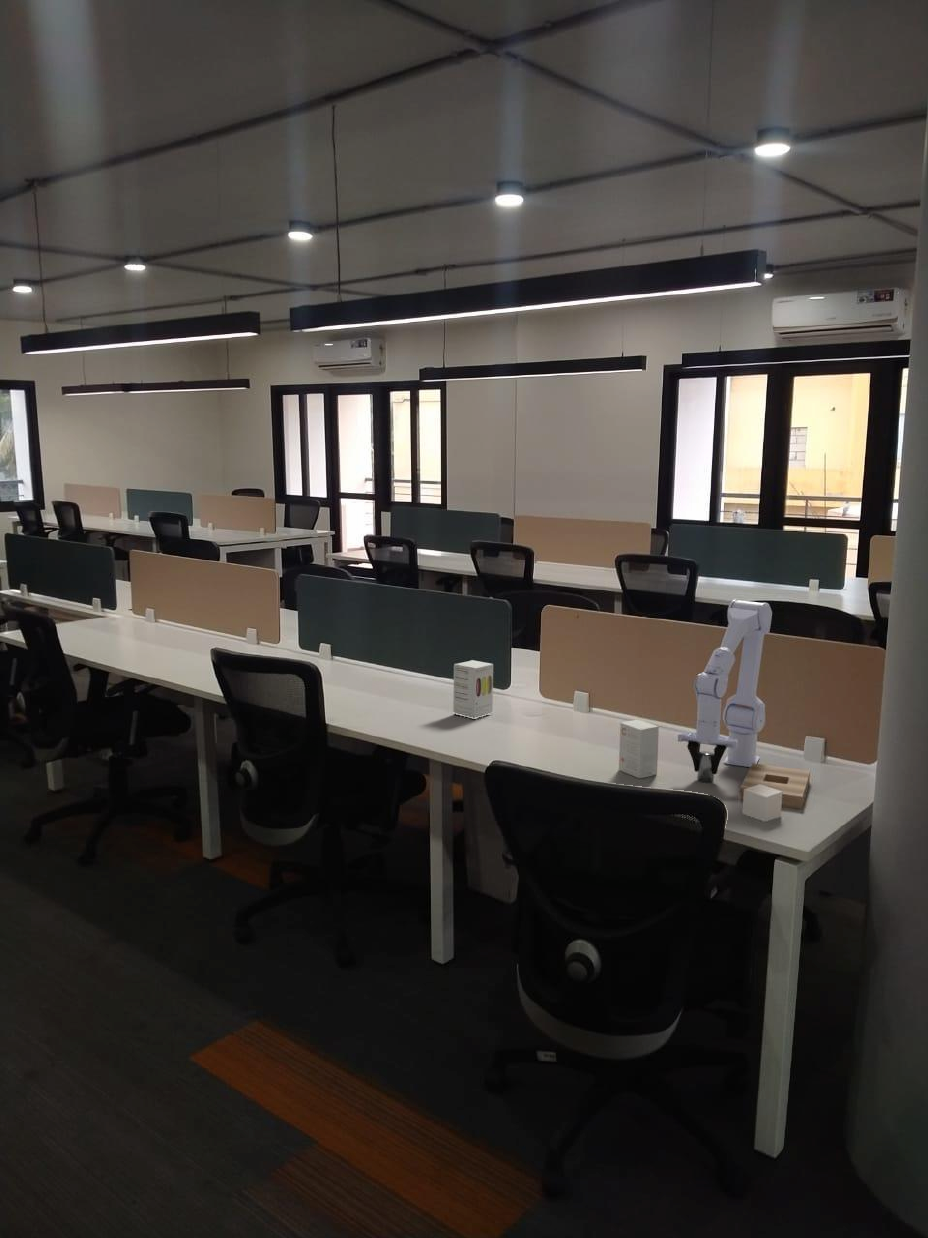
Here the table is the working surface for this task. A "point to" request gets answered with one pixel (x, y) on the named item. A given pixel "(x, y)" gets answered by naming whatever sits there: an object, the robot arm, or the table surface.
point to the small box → (638, 748)
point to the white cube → (762, 802)
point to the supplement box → (473, 688)
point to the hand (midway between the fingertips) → (705, 771)
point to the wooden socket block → (779, 782)
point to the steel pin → (705, 767)
